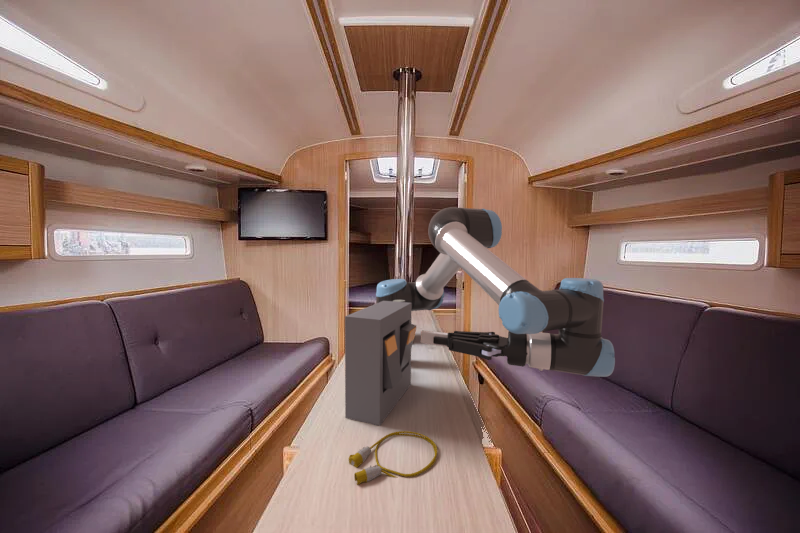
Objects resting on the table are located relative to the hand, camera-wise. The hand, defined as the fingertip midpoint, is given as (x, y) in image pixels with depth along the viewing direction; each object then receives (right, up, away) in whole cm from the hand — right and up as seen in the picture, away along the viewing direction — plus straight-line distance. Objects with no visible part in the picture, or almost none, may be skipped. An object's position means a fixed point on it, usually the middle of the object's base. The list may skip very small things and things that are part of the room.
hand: (421, 336), depth 74 cm
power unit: (-10, -15, -1) cm, 18 cm away
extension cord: (-6, -17, -20) cm, 27 cm away
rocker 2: (-5, -8, +3) cm, 9 cm away
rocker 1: (-6, -8, -8) cm, 13 cm away
